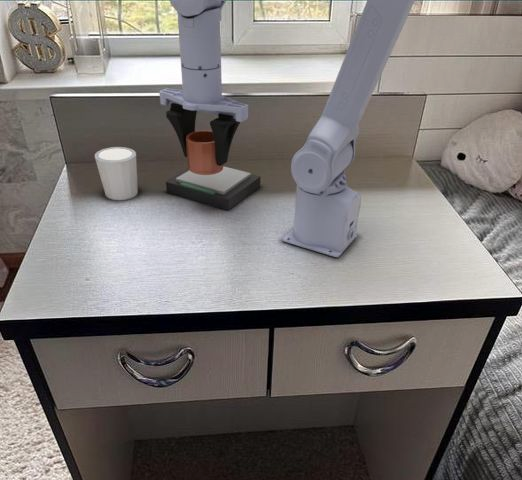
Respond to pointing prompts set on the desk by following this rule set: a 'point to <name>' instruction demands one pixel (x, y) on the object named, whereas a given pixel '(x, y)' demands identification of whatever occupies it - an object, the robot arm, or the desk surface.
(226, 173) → the scale
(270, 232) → the desk surface
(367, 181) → the desk surface
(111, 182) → the shot glass
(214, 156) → the cup
